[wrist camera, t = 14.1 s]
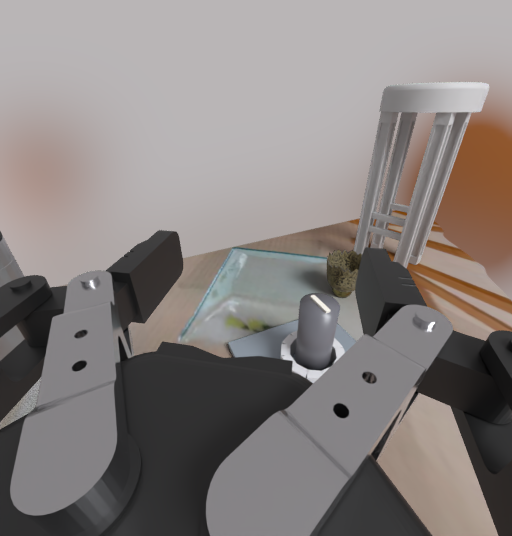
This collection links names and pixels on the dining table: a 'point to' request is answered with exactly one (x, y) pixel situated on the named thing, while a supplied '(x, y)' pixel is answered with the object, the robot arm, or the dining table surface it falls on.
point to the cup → (343, 271)
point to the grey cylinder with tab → (316, 331)
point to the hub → (287, 347)
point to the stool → (432, 169)
